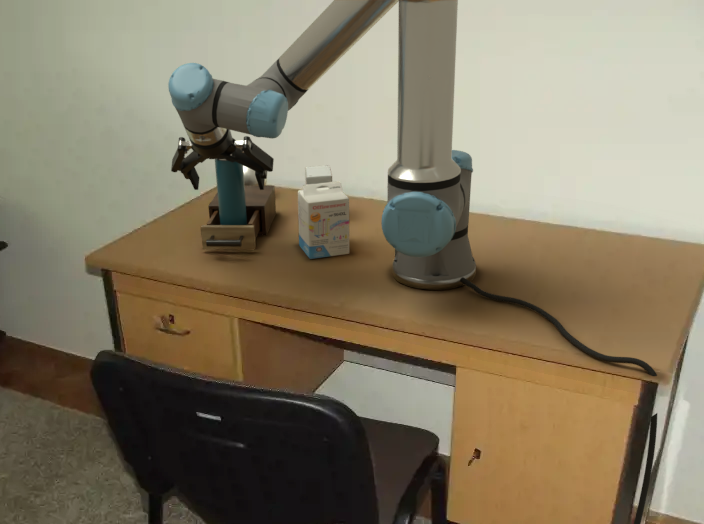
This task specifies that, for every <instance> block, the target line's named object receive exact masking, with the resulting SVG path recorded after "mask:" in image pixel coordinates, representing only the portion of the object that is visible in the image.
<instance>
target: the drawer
mask: <svg viewBox="0 0 704 524" xmlns="http://www.w3.org/2000/svg"><path fill="white" fill-rule="evenodd" d="M246 215H247V225H220V215H219V209H216V210H215V211H214V213H213V215H212V216H211V218H209V220H208V221H207V223H206V224H201V226H200V237H201V245H202V246H201V247H202V250H246V251H249V250H251V251H252V250H254V251H255V250H256V239H257V237H258V236H257V235H258V233H259V231H260V229H261V226H262V225H261V209H246Z"/></svg>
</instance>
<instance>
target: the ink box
mask: <svg viewBox="0 0 704 524" xmlns="http://www.w3.org/2000/svg"><path fill="white" fill-rule="evenodd" d="M320 186H326V187H325V188H318V187H320ZM297 213H298V214H297V217H298V246H299V247H300V249H301V250H302V251H303V253H305V256H307V258H308V259H310V260H314V259H315V260H316V259H322V258H329V257H336V256H344V255H348V254H350V197H349V196H347V194H346V193H345V192H344V190H343V186H342V182H341V181H339V180H338V181H332V182H328V183H319V184H307V185H306V184H304V185H302V189H298V191H297Z"/></svg>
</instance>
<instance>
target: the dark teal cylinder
mask: <svg viewBox="0 0 704 524" xmlns="http://www.w3.org/2000/svg"><path fill="white" fill-rule="evenodd" d="M231 156H232V154H231ZM214 167H215V177H216V179H215V180H216V191H217V192H218V204H219V215H220V225H247V215H246V201H245V187H244V172H243V165H241V164H239V163H237V162H233V163H232V162H230V161H228V160H226V159H214ZM217 192H216V193H217Z"/></svg>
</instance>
